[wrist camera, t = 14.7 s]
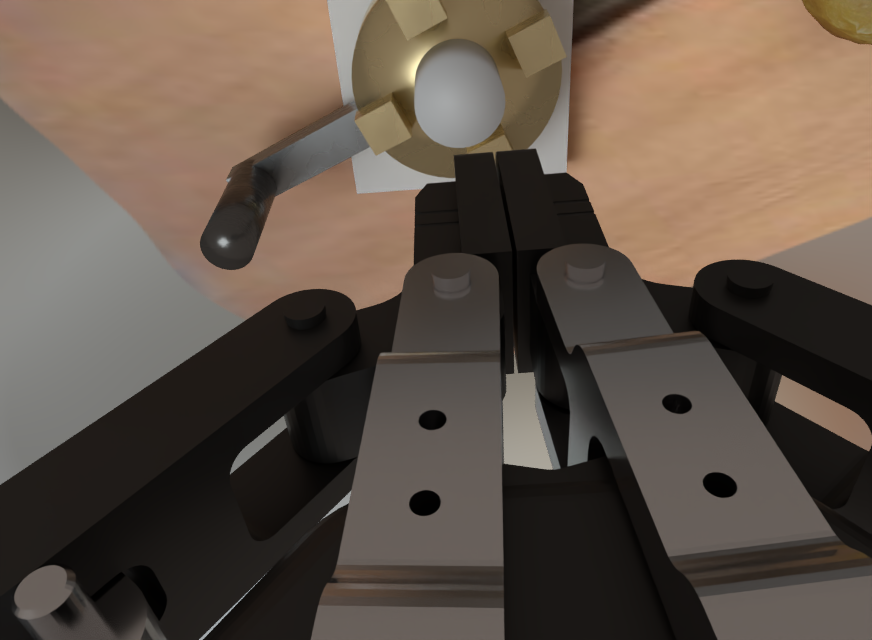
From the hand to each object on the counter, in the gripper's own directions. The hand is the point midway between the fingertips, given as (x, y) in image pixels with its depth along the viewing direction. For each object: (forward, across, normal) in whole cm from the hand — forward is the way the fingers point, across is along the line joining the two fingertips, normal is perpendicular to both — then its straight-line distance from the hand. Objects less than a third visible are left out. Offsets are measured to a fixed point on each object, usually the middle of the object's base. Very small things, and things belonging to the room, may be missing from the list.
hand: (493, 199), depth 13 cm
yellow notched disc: (+25, +4, +6) cm, 26 cm away
